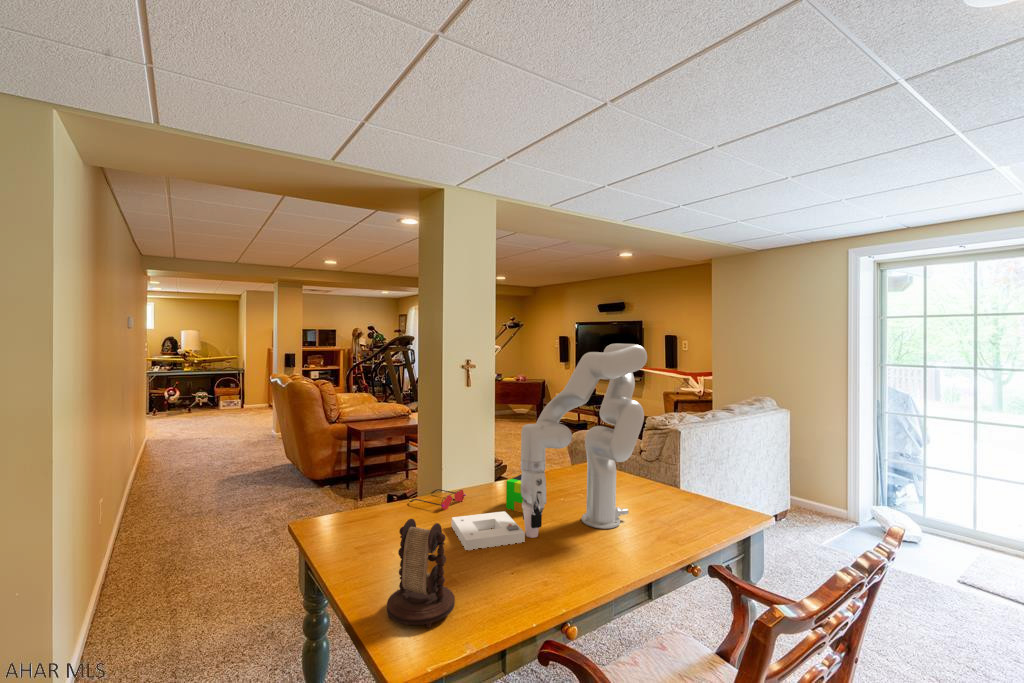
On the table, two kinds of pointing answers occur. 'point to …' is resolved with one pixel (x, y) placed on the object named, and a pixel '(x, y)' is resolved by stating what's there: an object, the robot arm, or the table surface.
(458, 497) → the glasses
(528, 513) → the smoothie
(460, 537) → the socket plate
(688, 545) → the table surface
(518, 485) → the puzzle toy
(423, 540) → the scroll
